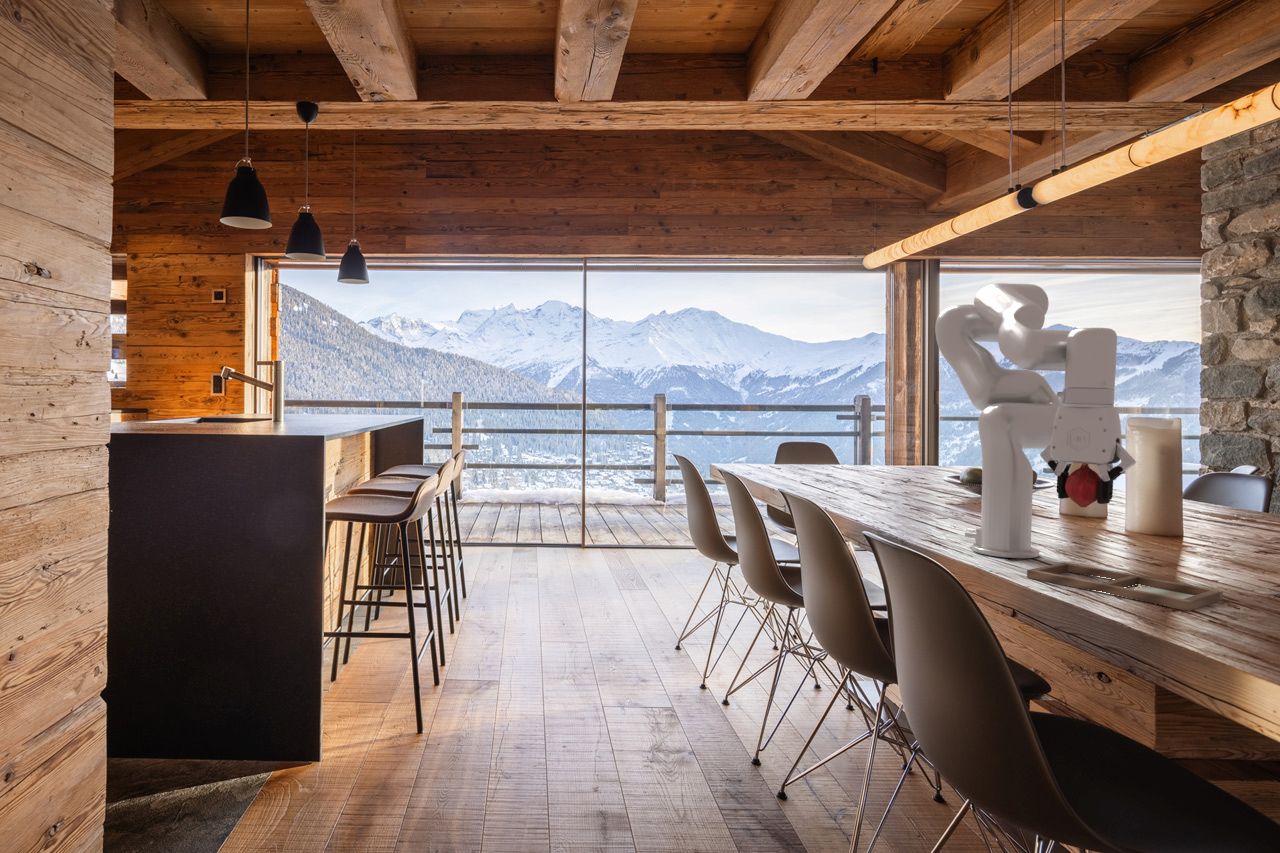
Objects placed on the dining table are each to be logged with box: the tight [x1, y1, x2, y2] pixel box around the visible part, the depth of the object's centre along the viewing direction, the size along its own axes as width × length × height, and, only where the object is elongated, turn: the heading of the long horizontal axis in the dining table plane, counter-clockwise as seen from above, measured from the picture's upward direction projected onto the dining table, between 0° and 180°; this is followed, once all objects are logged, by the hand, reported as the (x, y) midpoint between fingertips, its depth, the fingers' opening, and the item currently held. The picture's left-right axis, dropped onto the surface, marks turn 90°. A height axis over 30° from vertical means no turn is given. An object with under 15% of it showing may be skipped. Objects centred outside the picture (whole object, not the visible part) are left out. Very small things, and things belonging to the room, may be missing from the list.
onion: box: [1065, 463, 1101, 508], centre depth 128 cm, size 6×6×8 cm
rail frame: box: [1026, 562, 1224, 612], centre depth 123 cm, size 25×13×1 cm, turn 33°
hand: (1083, 499), depth 128 cm, fingers closed on onion, 5 cm apart
